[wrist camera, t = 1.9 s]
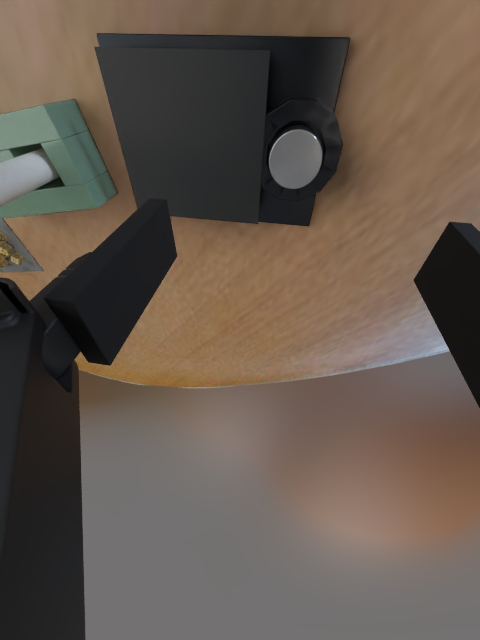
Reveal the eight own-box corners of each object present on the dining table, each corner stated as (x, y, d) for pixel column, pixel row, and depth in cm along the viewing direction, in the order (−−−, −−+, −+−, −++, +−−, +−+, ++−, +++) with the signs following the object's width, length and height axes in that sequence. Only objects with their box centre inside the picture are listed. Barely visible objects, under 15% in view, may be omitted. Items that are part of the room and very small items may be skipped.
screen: (139, 212, 26) (138, 213, 26) (95, 46, 18) (94, 46, 18) (257, 223, 25) (258, 223, 25) (270, 50, 17) (270, 50, 17)
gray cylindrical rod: (48, 144, 25) (-127, 204, 15) (68, 140, 25) (-98, 200, 14) (63, 171, 27) (-84, 242, 17) (82, 168, 26) (-57, 240, 16)
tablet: (144, 209, 28) (134, 218, 27) (101, 33, 19) (81, 31, 17) (318, 224, 27) (319, 235, 25) (363, 38, 17) (371, 36, 16)
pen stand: (-39, 124, 25) (-80, 132, 22) (74, 98, 22) (43, 104, 19) (20, 205, 31) (-7, 219, 28) (118, 193, 28) (98, 208, 25)
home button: (268, 180, 22) (266, 187, 21) (273, 123, 20) (271, 127, 18) (314, 183, 22) (315, 191, 21) (326, 125, 19) (328, 130, 18)
